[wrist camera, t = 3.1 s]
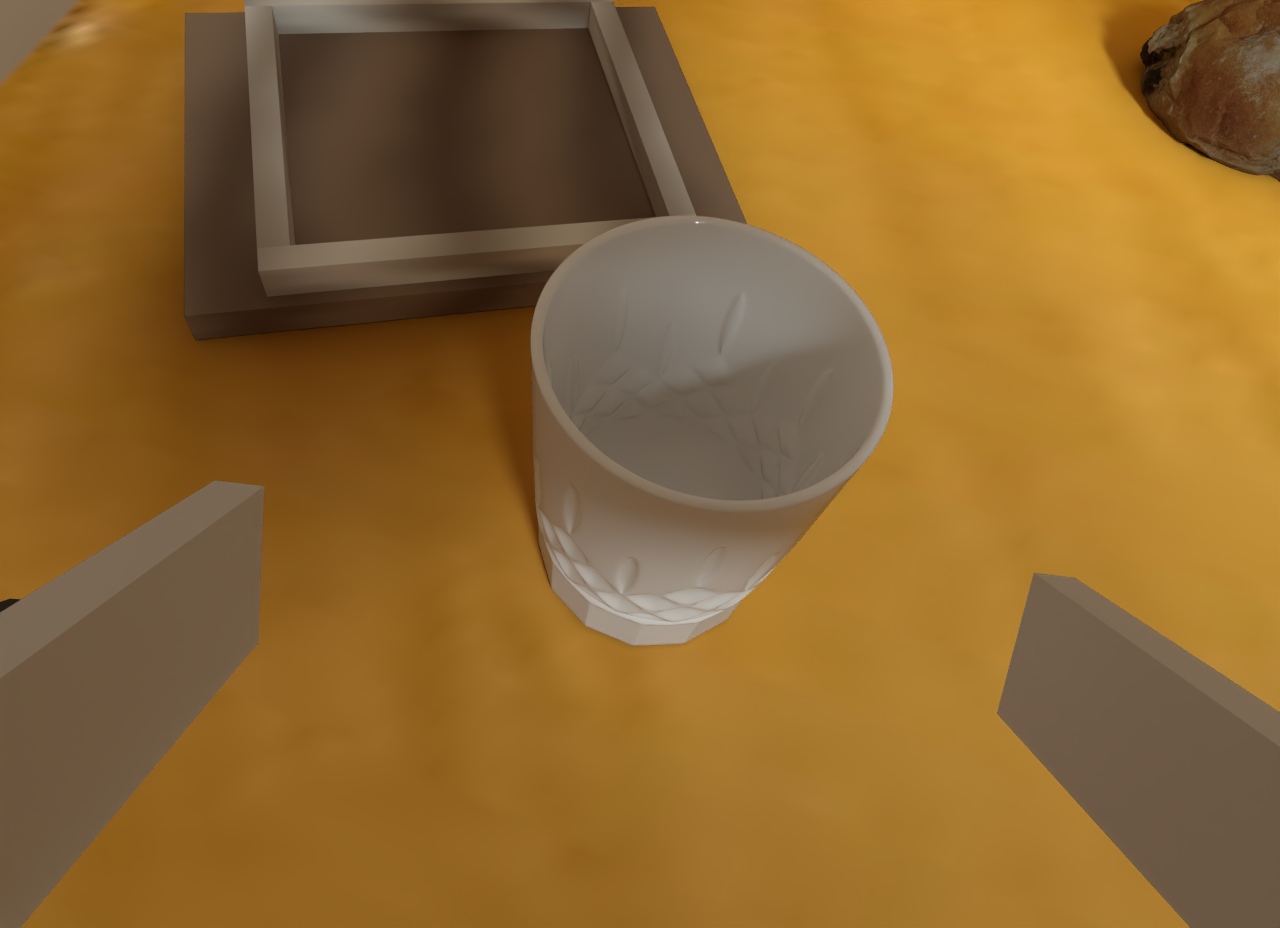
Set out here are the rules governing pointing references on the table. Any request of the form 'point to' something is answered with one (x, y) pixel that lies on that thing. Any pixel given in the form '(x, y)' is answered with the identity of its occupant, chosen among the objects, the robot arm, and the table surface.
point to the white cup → (692, 417)
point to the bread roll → (1220, 81)
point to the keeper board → (423, 154)
